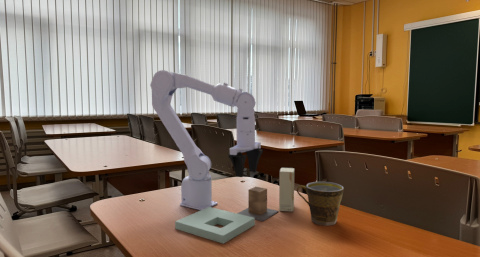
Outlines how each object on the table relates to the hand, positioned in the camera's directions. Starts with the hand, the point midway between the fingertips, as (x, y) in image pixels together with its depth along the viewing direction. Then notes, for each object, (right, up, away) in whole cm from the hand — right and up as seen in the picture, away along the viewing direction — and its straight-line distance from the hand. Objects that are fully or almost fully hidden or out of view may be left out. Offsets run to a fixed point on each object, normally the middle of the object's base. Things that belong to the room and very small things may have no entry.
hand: (246, 174), depth 108 cm
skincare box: (+12, -11, -2) cm, 17 cm away
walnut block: (+3, -11, -6) cm, 13 cm away
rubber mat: (+3, -11, -6) cm, 13 cm away
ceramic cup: (+20, -12, -12) cm, 26 cm away
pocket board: (-9, -12, -16) cm, 22 cm away
